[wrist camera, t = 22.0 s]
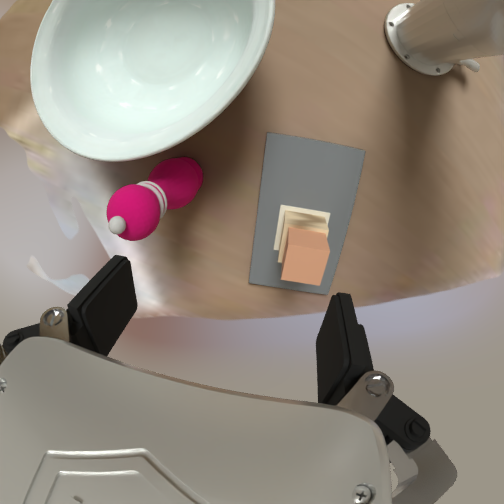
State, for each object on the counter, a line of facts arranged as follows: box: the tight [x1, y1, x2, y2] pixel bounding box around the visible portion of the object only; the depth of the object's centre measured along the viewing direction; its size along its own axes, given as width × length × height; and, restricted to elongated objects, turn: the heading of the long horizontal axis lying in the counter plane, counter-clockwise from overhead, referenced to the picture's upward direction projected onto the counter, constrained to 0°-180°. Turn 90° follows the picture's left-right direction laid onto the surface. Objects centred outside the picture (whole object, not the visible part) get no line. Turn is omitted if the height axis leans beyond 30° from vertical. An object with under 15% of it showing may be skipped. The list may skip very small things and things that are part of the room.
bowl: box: [30, 0, 275, 162], centre depth 24 cm, size 32×32×15 cm
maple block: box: [278, 210, 329, 263], centre depth 39 cm, size 6×6×5 cm
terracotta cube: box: [281, 227, 330, 286], centre depth 35 cm, size 5×5×5 cm
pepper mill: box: [107, 157, 203, 241], centre depth 32 cm, size 7×7×20 cm
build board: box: [249, 132, 365, 295], centre depth 41 cm, size 14×25×1 cm, turn 174°
